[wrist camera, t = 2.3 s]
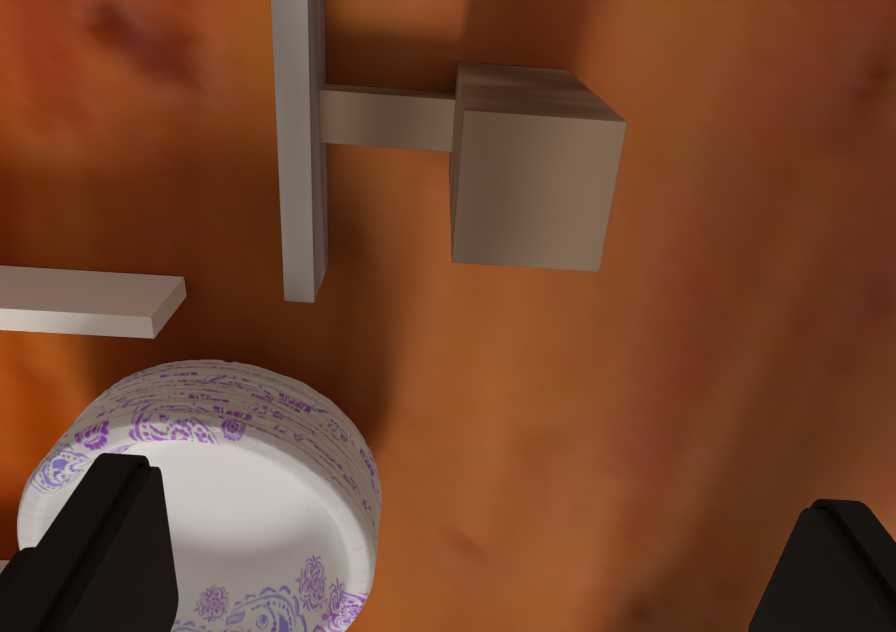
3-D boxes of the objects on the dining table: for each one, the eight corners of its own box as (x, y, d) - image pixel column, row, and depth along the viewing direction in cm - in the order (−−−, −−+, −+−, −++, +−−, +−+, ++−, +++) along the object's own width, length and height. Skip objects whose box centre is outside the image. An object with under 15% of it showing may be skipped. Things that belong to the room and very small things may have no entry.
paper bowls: (233, 264, 31) (172, 353, 24) (445, 464, 36) (445, 584, 29) (35, 435, 35) (-67, 553, 28) (250, 590, 41) (210, 721, 34)
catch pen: (184, 276, 31) (151, 317, 28) (220, 581, 40) (199, 641, 37) (-199, 253, 30) (-283, 291, 27) (-73, 568, 40) (-123, 628, 36)
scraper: (586, -68, 25) (666, -84, 16) (536, 278, 31) (573, 403, 22) (290, -93, 24) (204, -124, 16) (301, 264, 31) (245, 385, 22)
